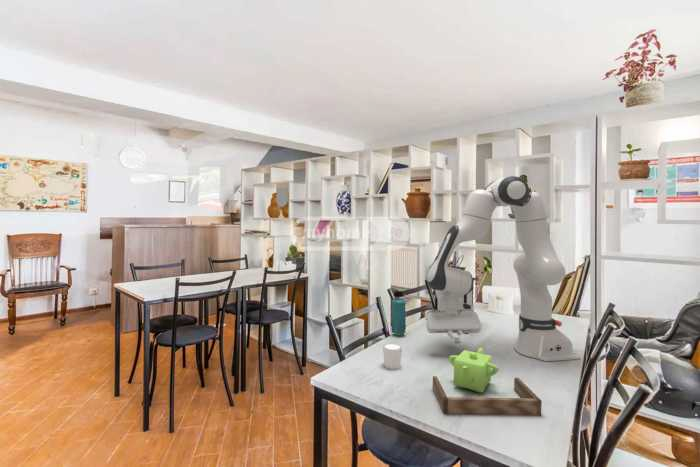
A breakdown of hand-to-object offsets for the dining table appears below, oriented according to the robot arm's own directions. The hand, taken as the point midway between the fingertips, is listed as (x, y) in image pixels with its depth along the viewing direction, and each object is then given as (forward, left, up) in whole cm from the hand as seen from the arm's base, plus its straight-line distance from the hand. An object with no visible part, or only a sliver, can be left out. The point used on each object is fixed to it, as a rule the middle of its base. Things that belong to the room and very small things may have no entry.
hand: (456, 342), depth 135 cm
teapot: (+1, +20, -7) cm, 21 cm away
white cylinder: (+25, +6, -7) cm, 26 cm away
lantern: (-10, -42, -7) cm, 44 cm away
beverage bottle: (+19, -27, -7) cm, 34 cm away
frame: (+1, +30, -7) cm, 30 cm away
